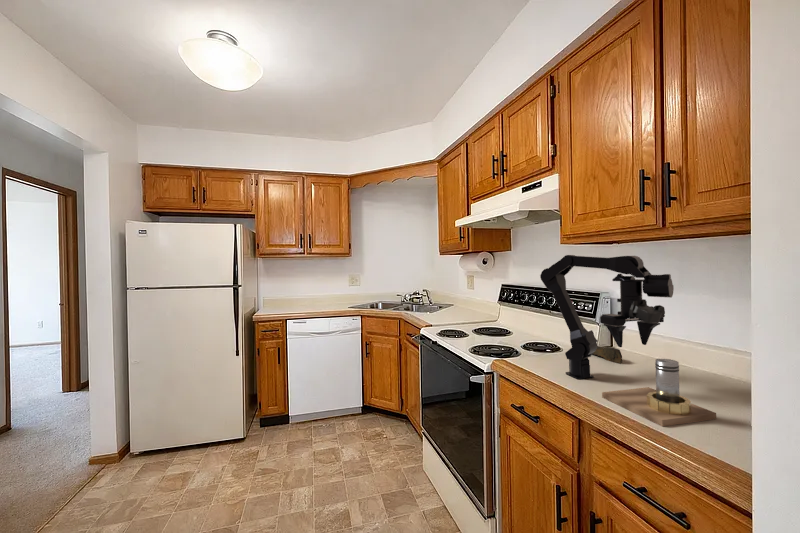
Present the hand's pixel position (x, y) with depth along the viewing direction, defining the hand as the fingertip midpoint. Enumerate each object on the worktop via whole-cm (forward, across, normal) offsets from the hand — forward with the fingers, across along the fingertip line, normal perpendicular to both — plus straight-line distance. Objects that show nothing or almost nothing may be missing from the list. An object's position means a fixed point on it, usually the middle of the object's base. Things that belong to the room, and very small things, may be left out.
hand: (632, 345), depth 110 cm
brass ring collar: (+12, -8, -18) cm, 22 cm away
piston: (+12, -8, -18) cm, 22 cm away
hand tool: (+14, +18, +33) cm, 40 cm away
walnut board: (+13, -8, -14) cm, 20 cm away
